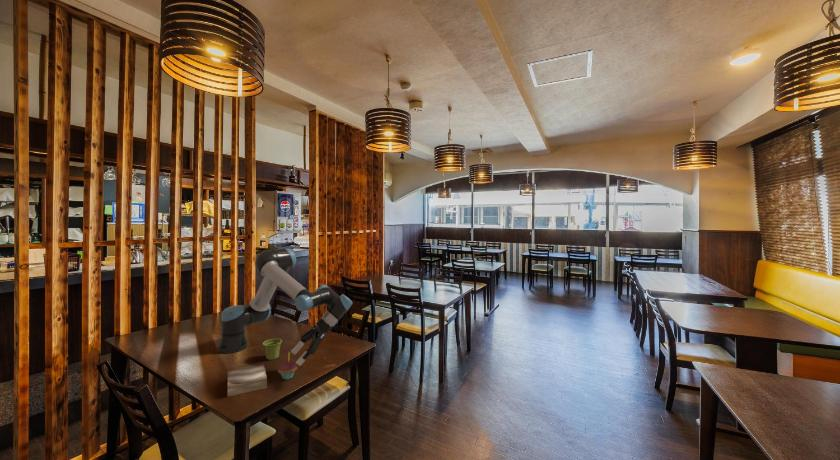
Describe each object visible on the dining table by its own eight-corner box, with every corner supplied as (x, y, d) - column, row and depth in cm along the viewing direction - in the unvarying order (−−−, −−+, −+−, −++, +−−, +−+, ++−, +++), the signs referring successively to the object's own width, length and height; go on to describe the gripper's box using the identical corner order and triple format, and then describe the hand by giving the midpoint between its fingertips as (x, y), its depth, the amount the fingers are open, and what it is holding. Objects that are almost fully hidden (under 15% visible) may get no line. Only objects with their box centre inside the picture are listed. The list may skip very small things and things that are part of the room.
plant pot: (263, 362, 165) (262, 346, 164) (262, 355, 173) (262, 340, 173) (282, 359, 169) (282, 343, 169) (281, 352, 177) (281, 337, 177)
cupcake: (281, 372, 155) (281, 348, 154) (299, 372, 156) (299, 348, 155) (275, 381, 146) (275, 356, 146) (294, 381, 147) (294, 356, 146)
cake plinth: (227, 380, 146) (227, 370, 146) (263, 373, 154) (263, 363, 154) (227, 396, 134) (227, 385, 133) (266, 387, 141) (266, 376, 141)
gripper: (339, 334, 149) (306, 373, 142) (325, 319, 171) (296, 353, 163) (328, 325, 146) (293, 364, 139) (315, 311, 168) (285, 344, 161)
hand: (295, 358), depth 151 cm, fingers open, 13 cm apart
